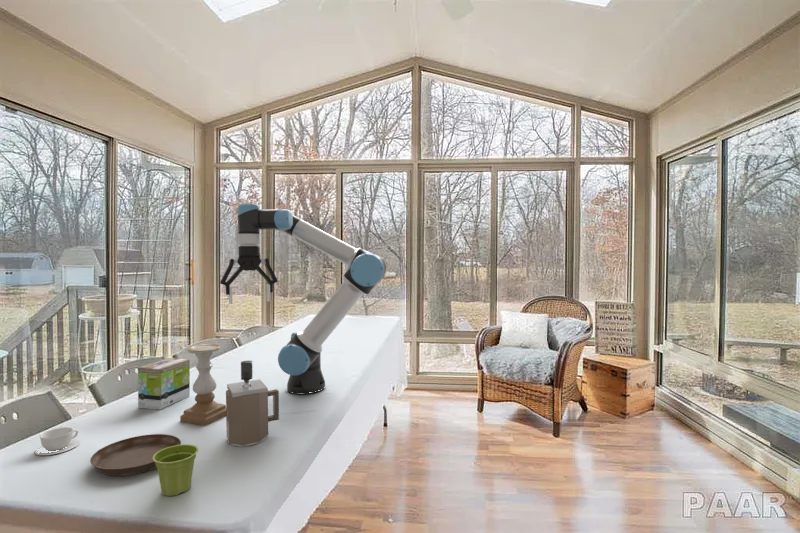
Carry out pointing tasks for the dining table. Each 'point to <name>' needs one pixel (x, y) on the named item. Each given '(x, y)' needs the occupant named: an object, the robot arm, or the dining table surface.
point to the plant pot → (175, 468)
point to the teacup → (58, 440)
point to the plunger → (246, 372)
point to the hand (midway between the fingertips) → (249, 302)
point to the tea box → (163, 383)
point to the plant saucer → (131, 454)
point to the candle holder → (204, 389)
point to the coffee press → (249, 412)
